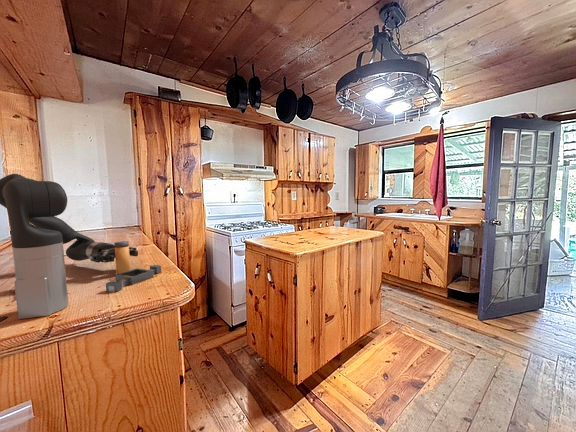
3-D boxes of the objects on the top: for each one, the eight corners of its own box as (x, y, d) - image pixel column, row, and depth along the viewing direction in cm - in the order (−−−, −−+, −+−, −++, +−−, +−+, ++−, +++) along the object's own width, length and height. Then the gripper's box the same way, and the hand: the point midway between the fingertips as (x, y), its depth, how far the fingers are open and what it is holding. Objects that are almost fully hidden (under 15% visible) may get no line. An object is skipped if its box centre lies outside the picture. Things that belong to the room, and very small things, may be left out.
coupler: (128, 275, 95) (126, 243, 94) (115, 276, 94) (112, 243, 93) (132, 271, 99) (129, 240, 98) (119, 272, 98) (116, 241, 97)
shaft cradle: (113, 293, 77) (112, 284, 77) (93, 289, 81) (93, 281, 81) (168, 273, 96) (168, 266, 96) (150, 270, 100) (150, 264, 99)
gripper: (79, 246, 96) (103, 249, 88) (119, 239, 108) (143, 242, 101) (81, 265, 97) (105, 271, 89) (121, 257, 109) (144, 261, 101)
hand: (125, 256), depth 95 cm, fingers open, 8 cm apart
